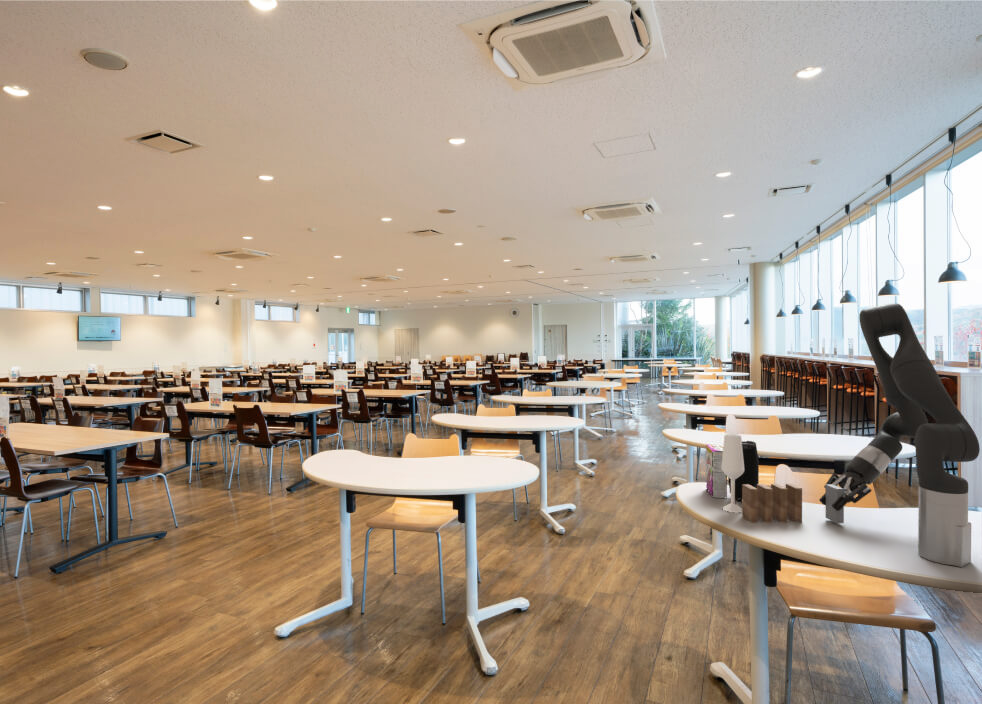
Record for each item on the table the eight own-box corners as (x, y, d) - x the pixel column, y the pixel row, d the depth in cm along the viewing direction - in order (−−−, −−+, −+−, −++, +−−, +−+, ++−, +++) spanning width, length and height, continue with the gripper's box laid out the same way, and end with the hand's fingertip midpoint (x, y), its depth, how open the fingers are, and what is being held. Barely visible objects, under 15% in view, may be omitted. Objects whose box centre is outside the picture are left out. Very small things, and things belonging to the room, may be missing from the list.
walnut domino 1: (748, 516, 160) (748, 484, 160) (757, 522, 155) (757, 488, 155) (742, 516, 160) (742, 484, 160) (750, 522, 155) (750, 488, 155)
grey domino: (832, 517, 157) (832, 484, 156) (843, 523, 152) (843, 488, 151) (825, 517, 156) (825, 484, 156) (837, 523, 151) (836, 488, 151)
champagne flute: (716, 508, 168) (716, 434, 168) (730, 504, 172) (730, 432, 171) (735, 514, 162) (735, 437, 162) (749, 510, 166) (749, 435, 165)
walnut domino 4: (791, 515, 160) (792, 483, 160) (802, 521, 155) (802, 488, 155) (785, 516, 160) (785, 483, 160) (795, 521, 155) (795, 488, 155)
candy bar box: (705, 489, 190) (705, 444, 190) (719, 489, 189) (719, 444, 189) (711, 498, 179) (711, 450, 179) (727, 498, 178) (727, 451, 178)
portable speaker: (723, 496, 181) (723, 440, 180) (747, 494, 183) (747, 439, 182) (739, 503, 172) (739, 444, 172) (764, 502, 174) (764, 443, 174)
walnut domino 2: (763, 516, 160) (763, 484, 160) (772, 522, 155) (772, 488, 155) (756, 516, 160) (756, 484, 160) (765, 522, 155) (765, 488, 155)
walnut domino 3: (777, 516, 160) (777, 483, 160) (787, 521, 155) (787, 488, 155) (771, 516, 160) (771, 483, 160) (780, 521, 155) (780, 488, 155)
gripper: (842, 450, 161) (804, 490, 161) (878, 461, 147) (836, 504, 147) (859, 467, 161) (821, 507, 161) (896, 479, 147) (854, 522, 147)
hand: (828, 505), depth 154 cm, fingers closed on grey domino, 5 cm apart
